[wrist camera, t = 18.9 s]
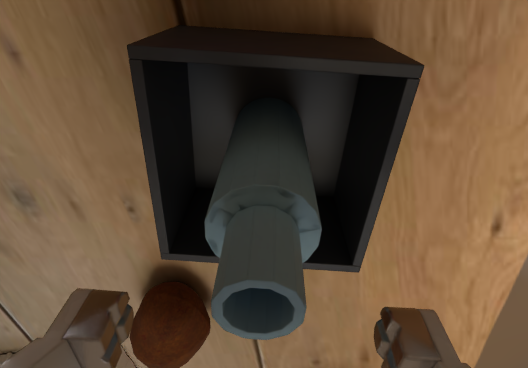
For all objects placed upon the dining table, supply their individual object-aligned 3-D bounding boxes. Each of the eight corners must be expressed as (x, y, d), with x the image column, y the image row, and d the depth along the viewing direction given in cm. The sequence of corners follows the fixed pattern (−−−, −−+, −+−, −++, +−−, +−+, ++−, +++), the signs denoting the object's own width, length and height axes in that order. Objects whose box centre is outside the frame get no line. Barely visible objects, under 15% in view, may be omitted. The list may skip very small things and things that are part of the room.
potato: (209, 265, 33) (193, 331, 27) (220, 327, 39) (209, 393, 33) (131, 266, 34) (97, 331, 27) (153, 326, 39) (130, 391, 33)
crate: (178, 24, 21) (125, 44, 14) (373, 38, 21) (425, 64, 14) (191, 189, 28) (161, 259, 21) (337, 199, 28) (359, 273, 21)
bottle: (235, 94, 23) (175, 251, 9) (306, 99, 23) (350, 263, 9) (234, 158, 26) (187, 350, 12) (297, 162, 26) (321, 359, 12)
